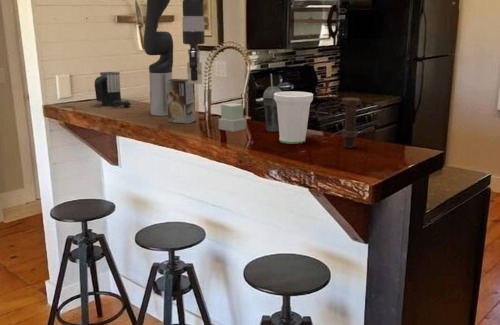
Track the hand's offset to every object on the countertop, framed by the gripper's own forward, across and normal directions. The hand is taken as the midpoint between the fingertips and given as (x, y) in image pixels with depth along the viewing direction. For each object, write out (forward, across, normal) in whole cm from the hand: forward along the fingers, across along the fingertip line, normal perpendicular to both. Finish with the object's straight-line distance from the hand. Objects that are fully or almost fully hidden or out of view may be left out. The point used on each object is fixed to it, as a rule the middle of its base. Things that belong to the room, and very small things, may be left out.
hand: (194, 79), depth 187 cm
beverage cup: (+18, +5, +27) cm, 33 cm away
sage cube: (+14, +2, +13) cm, 19 cm away
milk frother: (+18, -53, -39) cm, 68 cm away
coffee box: (+18, -13, -6) cm, 23 cm away
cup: (+18, +22, +32) cm, 43 cm away
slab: (+18, +2, +13) cm, 22 cm away
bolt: (+18, +32, +49) cm, 61 cm away
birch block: (+1, 0, 0) cm, 1 cm away
